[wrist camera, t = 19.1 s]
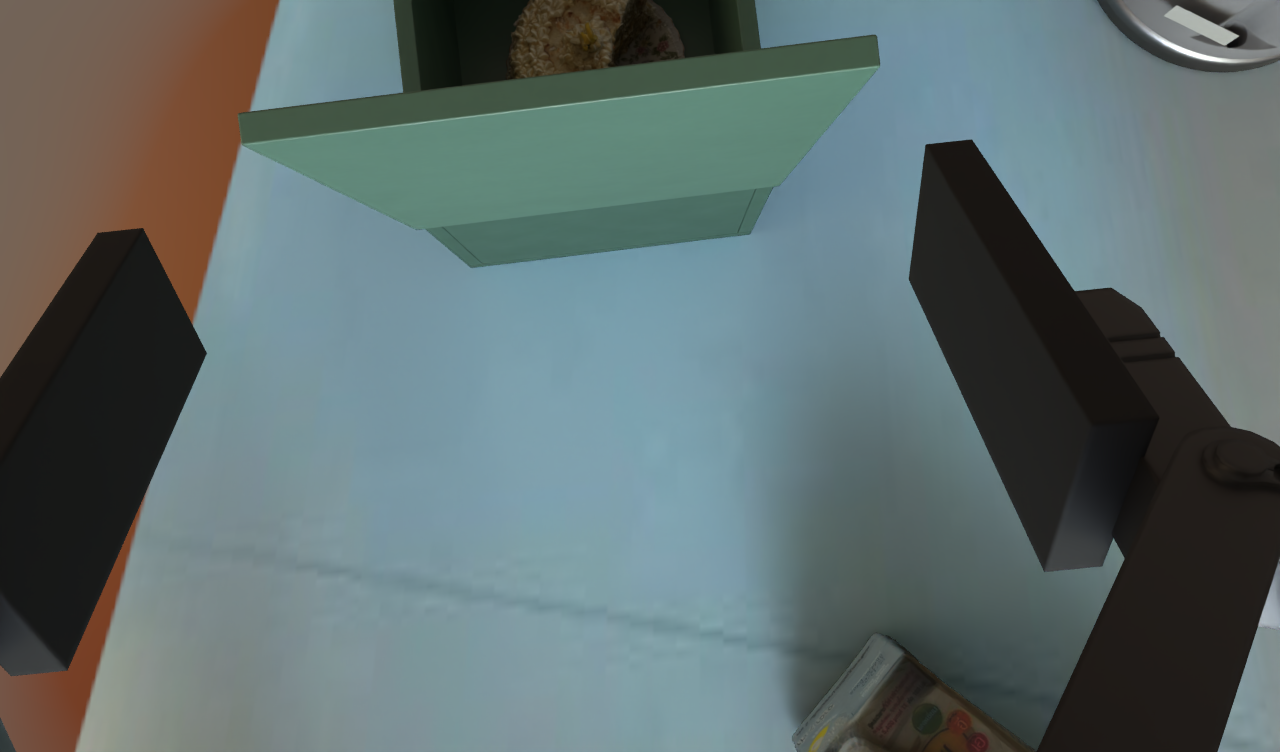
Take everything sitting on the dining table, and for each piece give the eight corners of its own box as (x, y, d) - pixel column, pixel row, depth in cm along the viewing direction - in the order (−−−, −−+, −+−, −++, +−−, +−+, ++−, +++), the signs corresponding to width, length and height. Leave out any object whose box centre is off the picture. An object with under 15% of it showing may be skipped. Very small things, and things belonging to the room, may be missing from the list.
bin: (438, -23, 54) (377, -149, 42) (714, -57, 53) (730, -193, 42) (470, 268, 53) (417, 223, 41) (750, 234, 52) (777, 179, 41)
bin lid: (236, 112, 23) (240, 145, 23) (877, 33, 23) (880, 66, 23) (413, 211, 40) (415, 230, 40) (777, 166, 40) (780, 185, 40)
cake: (534, 185, 53) (510, 158, 47) (488, 15, 53) (461, -30, 48) (708, 132, 52) (704, 99, 46) (659, -39, 52) (650, -91, 47)
